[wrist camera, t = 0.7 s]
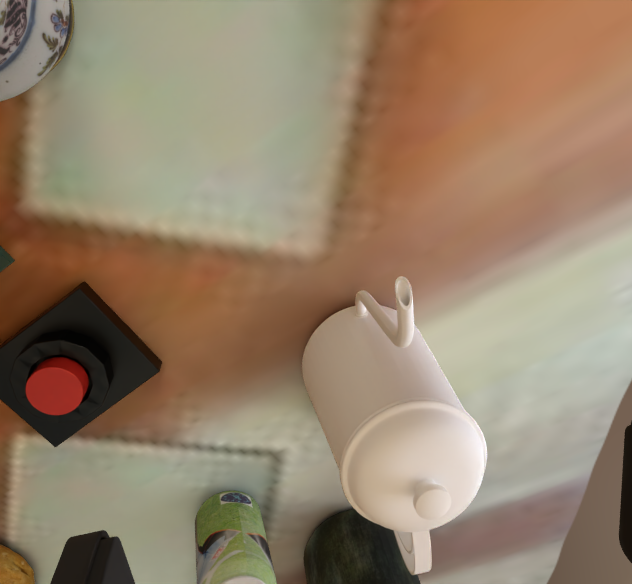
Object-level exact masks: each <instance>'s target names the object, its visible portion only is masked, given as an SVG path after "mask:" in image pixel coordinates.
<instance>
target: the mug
mask: <svg viewBox="0 0 632 584" xmlns="http://www.w3.org/2000/svg"><path fill="white" fill-rule="evenodd" d="M304 566H305V573H306V579H307V584H420V581H419V578H418V576H417V574H416V575H412V574H411V573H410V572H409V570H408V568H407V567H406V564H405V562H404V560H403V557H402V554H401V552H400V549H399V546H398V543H397V540H396V537H395V534H394V530H391V529H388V528H385V527H383V526H381V525H379V524H376V523H374V522H372V521H370V520H368V519H366V518H365V517H363V516H362V515H360V514H359V513H358V512H357V511H356V510H355V509H353V510H347V511H344V512H341V513H338V514H336V515H334V516H332V517H330V518H329V519H327V520H326V521H324V522H323V523H322V524H321V525H320V526H319V527H318V528H317V529H316V530H315V532H314V533H313V534H312V536H311V537H310V539H309V541H308V543H307V545H306V548H305V552H304Z"/></svg>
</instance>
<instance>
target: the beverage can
mask: <svg viewBox="0 0 632 584" xmlns="http://www.w3.org/2000/svg"><path fill="white" fill-rule="evenodd" d="M195 538H196V570H197V584H277V582H276V578H275V573H274V569H273V564H272V560H271V556H270V551H269V547H268V542H267V538H266V534H265V529H264V525H263V520H262V516H261V512H260V508H259V506H258V504H257V503H256V501H255V500H254V499H253V498H252V497H251V496H249V495H247V494H245V493H243V492H239V491H225V492H221V493H218V494H216V495H214V496H212V497H211V498H209V499H208V500H207V501H206V502H204V503H203V505H202V506H201V507H200V509H199V511H198V513H197V516H196V520H195Z"/></svg>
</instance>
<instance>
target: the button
mask: <svg viewBox="0 0 632 584" xmlns="http://www.w3.org/2000/svg"><path fill="white" fill-rule="evenodd" d="M88 385H89V379H88V375H87V373H86V371H85V370H84V368H83V367H82V366H81V365H80V364H79V363H77V362H76V361H74V360H71V359H69V358H64V357H54V358H50V359H47V360H45V361H43V362H42V363H40V364H39V365H38V366H37V368H36V369H35V370H34V372H33V373H32V374H31V376H30V377H29V379H28V380H27V383H26V388H25V390H26V396H27V398H28V400H29V402H30V403H31V405H32V406H33V407H35V408H36V409H37V410H39V411H41V412H43V413H46V414H49V415H63V414H67V413H69V412H71V411H73V410H75V409H76V408H77V407H78V406H79V404H80V403H81V401H82V399H83V397H84V395H85V393H86V391H87V389H88Z"/></svg>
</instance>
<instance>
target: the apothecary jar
mask: <svg viewBox="0 0 632 584" xmlns="http://www.w3.org/2000/svg"><path fill="white" fill-rule="evenodd" d="M73 27H74V11H73V3H72V0H0V101H3V100H7V99H10V98H12V97H15V96H17V95H19V94H21V93H23V92H25V91H27V90H28V89H30V88H31V87H33V86H34V85H35V84H37V83H38V82H39V81H40V80H41V79H42V78H44V76H45V75H46V74H47V73H48V72H49V71H51V70H52V69H53V68H54V67H55V66H56V65H57V64H58V63H59V62H60V60H61V59H62V58H63V56H64V55H65V53H66V51H67V48H68V46H69V43H70V40H71V37H72V33H73Z"/></svg>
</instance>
